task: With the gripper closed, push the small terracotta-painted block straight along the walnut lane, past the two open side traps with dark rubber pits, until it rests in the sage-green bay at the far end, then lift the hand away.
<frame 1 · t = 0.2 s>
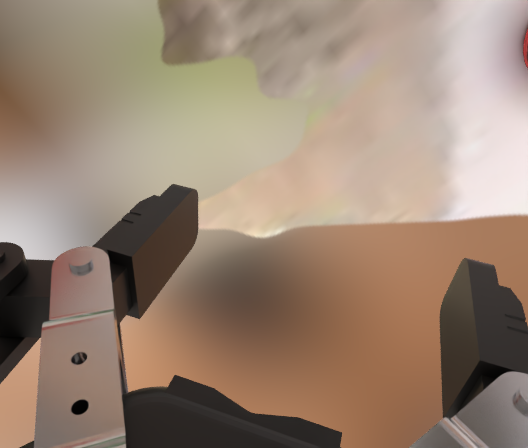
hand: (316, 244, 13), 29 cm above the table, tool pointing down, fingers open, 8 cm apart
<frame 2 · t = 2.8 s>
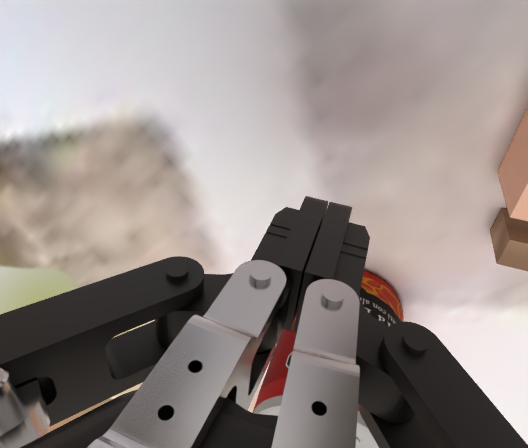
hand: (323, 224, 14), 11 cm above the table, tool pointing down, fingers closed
canned food: (347, 302, 31), on the table
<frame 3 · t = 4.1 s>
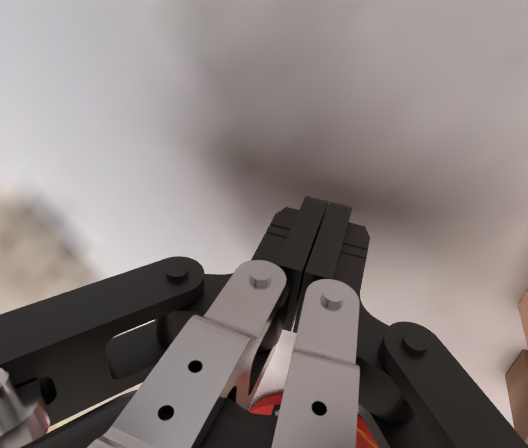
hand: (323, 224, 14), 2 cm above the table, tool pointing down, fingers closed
canned food: (312, 430, 24), on the table
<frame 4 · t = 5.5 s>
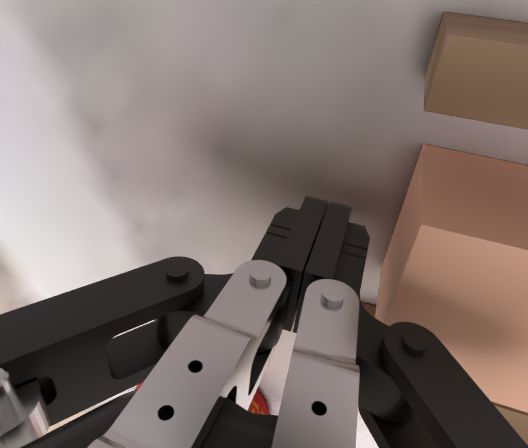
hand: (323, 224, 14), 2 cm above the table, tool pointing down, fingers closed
terracotta block: (477, 230, 14), on the table, touching gripper
canned food: (209, 393, 25), on the table
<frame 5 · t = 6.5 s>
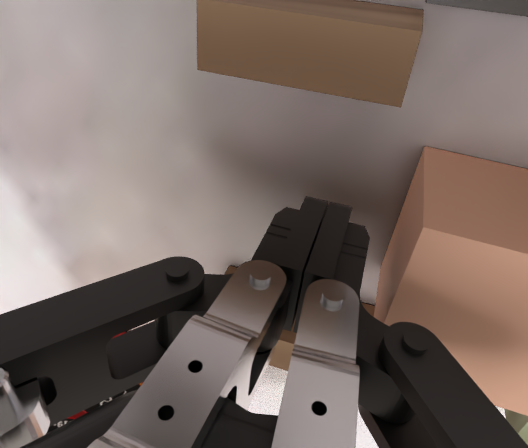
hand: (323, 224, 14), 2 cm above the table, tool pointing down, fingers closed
trap lane: (445, 223, 14), on the table
terracotta block: (477, 232, 14), on the table, touching gripper
canned food: (125, 364, 26), on the table
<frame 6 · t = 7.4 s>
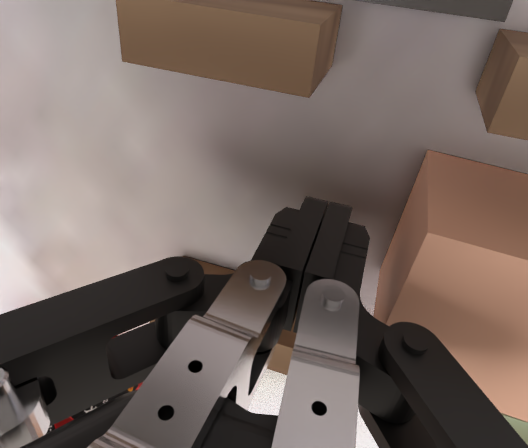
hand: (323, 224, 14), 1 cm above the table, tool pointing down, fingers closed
trap lane: (379, 213, 15), on the table
terracotta block: (477, 237, 14), on the table, touching gripper
canned food: (93, 355, 26), on the table
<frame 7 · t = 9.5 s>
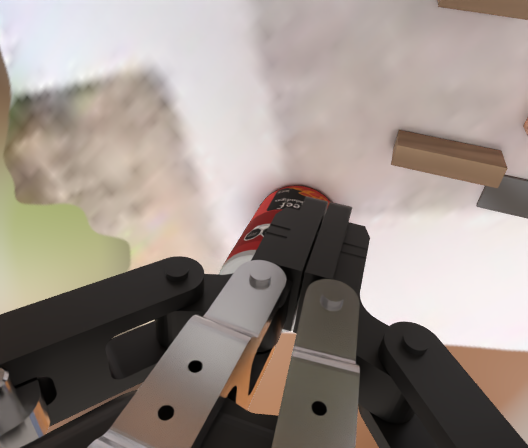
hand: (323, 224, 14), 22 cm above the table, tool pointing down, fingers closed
canned food: (299, 217, 41), on the table
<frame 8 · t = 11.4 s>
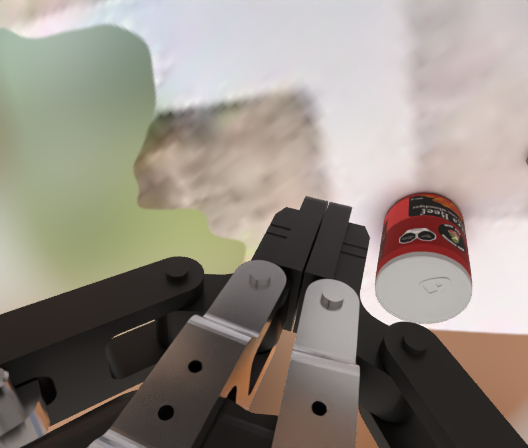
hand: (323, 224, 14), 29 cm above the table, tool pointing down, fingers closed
canned food: (422, 221, 45), on the table
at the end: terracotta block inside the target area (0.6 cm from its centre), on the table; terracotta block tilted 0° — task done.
